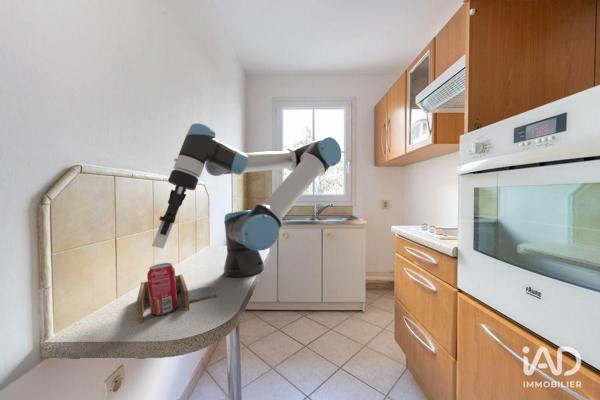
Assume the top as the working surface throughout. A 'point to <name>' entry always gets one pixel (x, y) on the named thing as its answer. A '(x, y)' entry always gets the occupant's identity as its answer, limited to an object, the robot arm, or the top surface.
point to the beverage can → (162, 288)
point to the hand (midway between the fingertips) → (158, 244)
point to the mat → (200, 294)
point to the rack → (145, 295)
